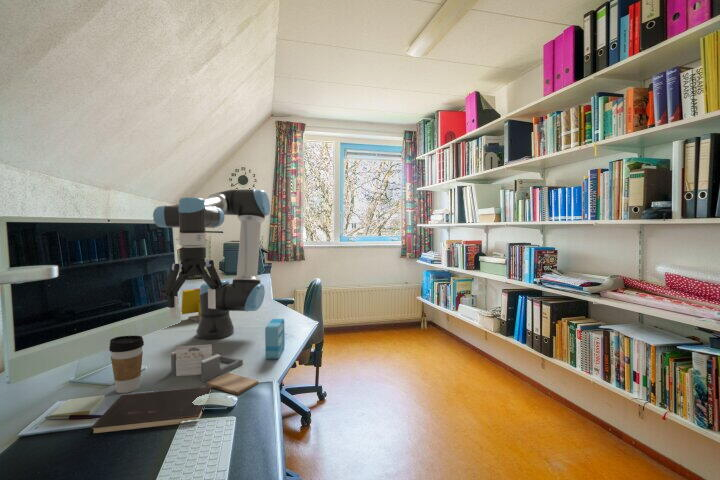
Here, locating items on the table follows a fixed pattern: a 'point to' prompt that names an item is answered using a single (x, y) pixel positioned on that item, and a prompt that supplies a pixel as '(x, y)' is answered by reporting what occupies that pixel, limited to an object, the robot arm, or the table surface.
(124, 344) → the coffee cup
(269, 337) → the data package
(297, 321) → the table surface
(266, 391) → the table surface
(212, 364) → the grey u-shaped frame
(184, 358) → the ink cartridge box
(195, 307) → the yellow and white box
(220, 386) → the walnut mat
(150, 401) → the hardcover book
